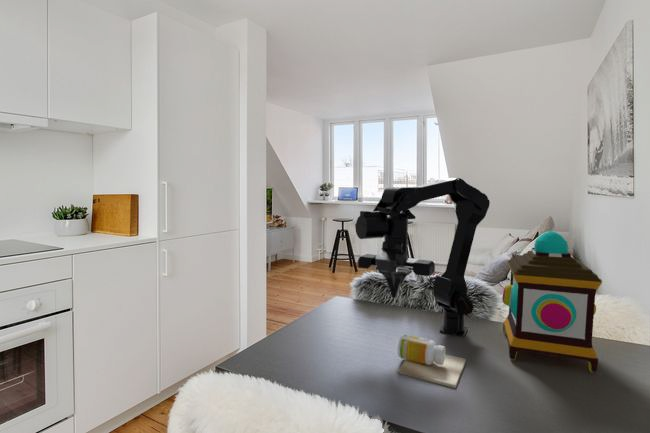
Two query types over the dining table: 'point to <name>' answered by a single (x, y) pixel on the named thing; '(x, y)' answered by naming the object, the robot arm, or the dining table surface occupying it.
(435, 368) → the birch mat
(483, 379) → the dining table surface
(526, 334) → the decorative lantern
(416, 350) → the supplement bottle
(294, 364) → the dining table surface
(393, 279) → the robot arm
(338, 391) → the dining table surface
